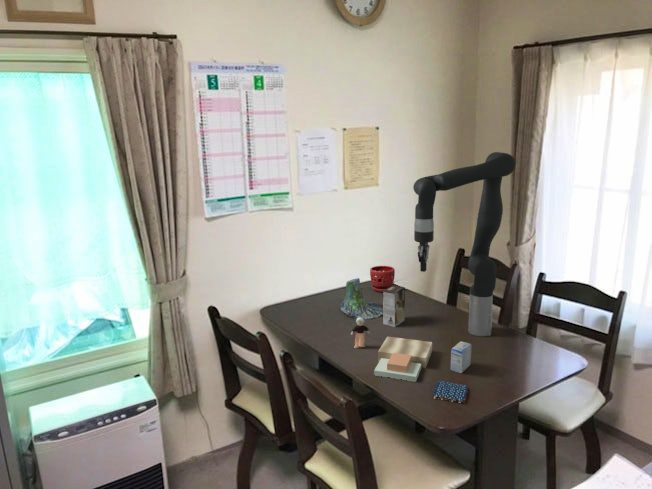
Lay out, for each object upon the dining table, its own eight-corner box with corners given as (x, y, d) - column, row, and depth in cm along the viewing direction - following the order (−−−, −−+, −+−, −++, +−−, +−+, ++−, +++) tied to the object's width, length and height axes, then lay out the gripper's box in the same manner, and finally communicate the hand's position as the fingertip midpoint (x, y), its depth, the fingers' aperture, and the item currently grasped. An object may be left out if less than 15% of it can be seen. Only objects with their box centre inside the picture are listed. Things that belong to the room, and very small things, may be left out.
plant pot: (399, 290, 265) (399, 268, 262) (379, 295, 259) (379, 273, 256) (385, 284, 276) (384, 263, 273) (365, 288, 270) (365, 267, 267)
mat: (421, 368, 181) (421, 363, 180) (415, 381, 172) (415, 376, 171) (381, 362, 186) (381, 358, 186) (374, 375, 177) (374, 370, 177)
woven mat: (465, 406, 157) (465, 400, 157) (431, 400, 161) (432, 394, 161) (469, 390, 167) (469, 384, 166) (437, 384, 171) (437, 379, 170)
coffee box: (392, 317, 229) (392, 284, 225) (405, 320, 225) (405, 287, 221) (382, 324, 222) (382, 290, 218) (395, 327, 218) (395, 293, 214)
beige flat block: (432, 351, 194) (432, 342, 193) (425, 368, 181) (425, 358, 180) (387, 345, 200) (387, 336, 199) (378, 361, 188) (378, 351, 187)
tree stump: (371, 324, 223) (361, 285, 220) (335, 325, 236) (324, 288, 233) (391, 309, 238) (382, 272, 235) (356, 310, 251) (346, 275, 248)
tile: (411, 361, 182) (411, 355, 182) (406, 372, 174) (406, 366, 174) (393, 358, 185) (393, 352, 184) (387, 370, 177) (387, 363, 176)
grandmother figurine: (353, 350, 198) (352, 320, 195) (350, 346, 201) (349, 316, 198) (371, 347, 200) (371, 317, 196) (368, 343, 203) (367, 314, 200)
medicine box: (459, 362, 185) (460, 340, 183) (470, 365, 182) (471, 343, 180) (450, 370, 179) (450, 348, 177) (461, 374, 176) (462, 351, 174)
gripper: (430, 233, 188) (429, 276, 193) (436, 226, 200) (435, 267, 205) (411, 232, 191) (410, 275, 195) (417, 225, 203) (417, 265, 207)
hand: (423, 271), depth 200 cm, fingers closed
